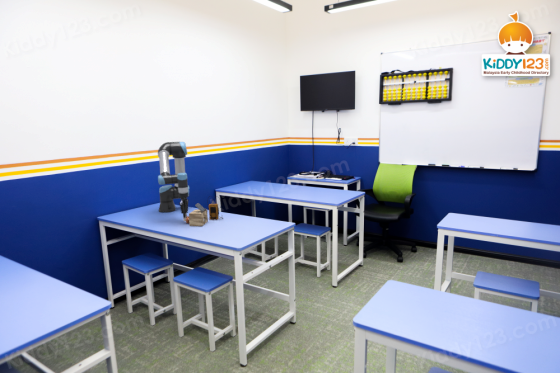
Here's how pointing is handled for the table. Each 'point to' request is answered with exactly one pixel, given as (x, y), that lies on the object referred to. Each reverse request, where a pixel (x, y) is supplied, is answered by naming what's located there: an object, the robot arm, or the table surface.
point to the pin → (188, 219)
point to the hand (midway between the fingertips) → (185, 221)
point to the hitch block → (198, 217)
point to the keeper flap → (200, 207)
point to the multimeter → (213, 210)
